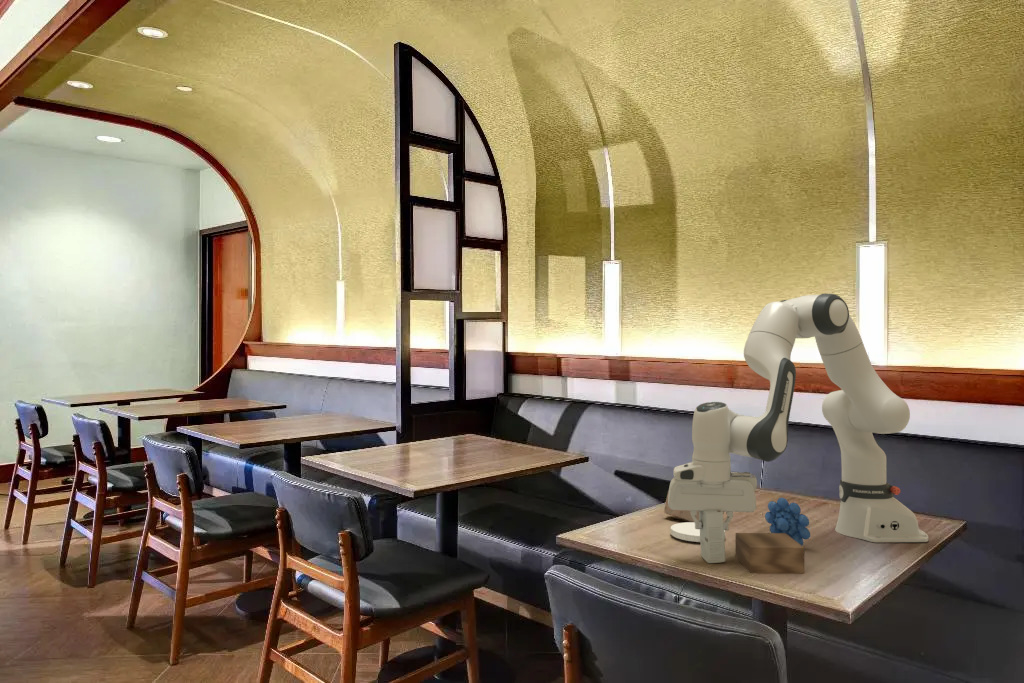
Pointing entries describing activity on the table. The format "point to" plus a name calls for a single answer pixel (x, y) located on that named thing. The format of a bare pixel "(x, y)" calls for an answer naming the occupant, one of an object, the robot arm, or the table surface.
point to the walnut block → (769, 553)
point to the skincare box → (712, 536)
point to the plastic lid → (686, 531)
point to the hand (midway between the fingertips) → (711, 529)
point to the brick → (680, 512)
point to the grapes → (787, 520)
